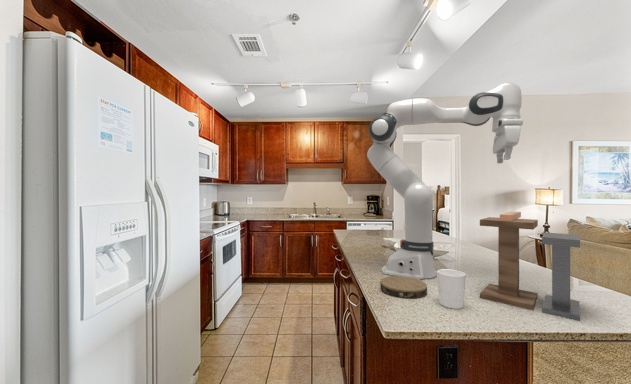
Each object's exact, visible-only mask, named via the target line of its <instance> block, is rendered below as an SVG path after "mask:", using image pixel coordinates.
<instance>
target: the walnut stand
mask: <svg viewBox="0 0 631 384" xmlns="http://www.w3.org/2000/svg"><path fill="white" fill-rule="evenodd" d="M538 224H539V220H538V219H531V218H529V219H528V218H518V219H516V220H513V221H500V217H490V216H489V217H485V218H481V219H479V226H480V227H492V228H498V231H497V232H498V237H497V238H498V242H497V243H498V245H497V246H498V257H497V258H498V276H497V277H498V284H494V283H493V284H492V283H488V284H487V285H486V286H485V287H484V288H483V290H481V291H480V292H479V299H482V300H487V301H492V302H496V303H500V304H504V305H509V306H512V307H516V308H521V309H525V310H530V311H534V309H535V307H536V304H537V301H538V298H539V296H538V295H539V294H538V292H535V291H534V292H533V291H529V290H525V289H520V230H534V229H536V228H537V227H539V226H538Z"/></svg>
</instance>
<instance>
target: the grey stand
mask: <svg viewBox="0 0 631 384" xmlns="http://www.w3.org/2000/svg"><path fill="white" fill-rule="evenodd" d="M541 244H542V245H549V246H551V291H552V292H551V295H550V294H549V295H548V294H545V296H544V300H543V302H542V303H543V304H542V307H541V313H543V314H546V315H552V316H555V317H559V316H560V317H561V318H564V317H565V318H564V319H568V318H569V319H570V320H572V319H573V321H577V322H581V307H580V301H579V300H574V299H571V248H578V249H579V248H581V239H580V234H573V233H572V234H571V233H570V234H569V233H562V232H561V233H559V232H546V231H545V232H544V234H543V235H542V237H541ZM560 317H559V318H560Z"/></svg>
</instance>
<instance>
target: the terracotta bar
mask: <svg viewBox="0 0 631 384" xmlns="http://www.w3.org/2000/svg"><path fill="white" fill-rule="evenodd" d="M521 217H522V211H508V212H503V213H501V214H499V218H500V221H513V220H516V219H521Z"/></svg>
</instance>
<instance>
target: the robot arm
mask: <svg viewBox="0 0 631 384" xmlns="http://www.w3.org/2000/svg"><path fill="white" fill-rule="evenodd" d="M521 107H522V89H521V87H520V86H519V85H518V84H516V83H512V82H506V83H501V84H499V85H498V86H496V87H494V88H493V89H489V90H487V91H484V92H478V93H476V94H474V95H473V96H472V97H471V98H470V100H469V103H468V105H466V106H464V107H441V106H439V105H437V104H436V103H435V102H434V101H433V100H432V99H429V98H422V97H421V98H420V97H417V98H407V99H403V100H398V101H394V102H392V103H390V104H389V105H388V107H387V109H386V112H383V113H381V115H379V116H377V117H375V118H373V119H372V121H370V123H369V126H368V133H369V137H370V138H371V139H372V141H373V142H372V145H371V146H370V147H369V149H368V150H367V153H366V157H367V159H368V162H370V164H371V165H372V167H373V168H374V169H375V170H376V171H377V172H378V173H379V175H380V176H381V177H382V178H383V179H384V180H385V181H386V182H387V183H388V184H389V185H390V187H392V188H393V190H395V191H396V192H397V193H398V194H399V195H400V196H401V197H402V199H404V226H405V227H404V228H405V229H404V230H405V232H404V233H405V234H404V236H405V237H404V238H405V239H404V238H402V239H401V240H400V241H399V243H400V244H399V246H400V248H398V249H397V250H396V251H395V252H393V253H391V254H390V255H389V256H388V258H387V261H386V262H387V263H386V264H385V265H383V266H382V267H381V273H382V274H384V275H389V276H402V277H410V278H415V279H418V280H423V279H432V278H435V277H438V274H437V272H436V269H435V263H434V262H435V261H434V253H435V250H434V249H435V245H434V241H433V219H434V218H433V210H434V209H433V206H434V205H433V204H434V203H433V201H434V199H433V198H434V196H433V191H432V188H430V187H429V186H428V185H427V184H426V183H425V182H423V180H422V179H421V178H420V177H418V176H417V174H416V173H415V172H414V171H413V170H412V169H411V168H410V166H408V165H407V164H406V163H405V162H404V161H403V160H402V159H401V158H400V156H398V155H397V153H395V151H393V149H392V148H391V147H392V145H393V144H394V143H395V140H396V138H397V134H398V133H397V130H398V128H401V127H403V126H415V125H426V124H436V123H437V124H442V123H443V124H448V123H450V124H451V123H452V124H453V123H461V124H466V125H469V126H473V127H479V126H483V125H485V124H487V123H488V122H489V121H490V119H491V118H492V128H491V131H492V132H493V133H495V136H494V137H493V138H494V139H493V145H492V154H493V155H494V154H495V155H496V164H498V165H499V164H503V163H504V161H506V160H507V161H508V160H509V161H510V159H511V158H512V156H511V155H512V153H513V148H514V147H516V146H517V145H518V144H519V141H520V136H521V129H522V126H523V123H524V119H523V118H521V114H520V111H521Z"/></svg>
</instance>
